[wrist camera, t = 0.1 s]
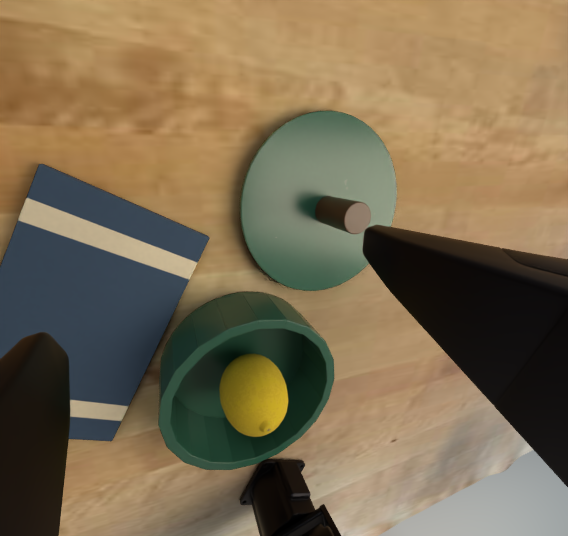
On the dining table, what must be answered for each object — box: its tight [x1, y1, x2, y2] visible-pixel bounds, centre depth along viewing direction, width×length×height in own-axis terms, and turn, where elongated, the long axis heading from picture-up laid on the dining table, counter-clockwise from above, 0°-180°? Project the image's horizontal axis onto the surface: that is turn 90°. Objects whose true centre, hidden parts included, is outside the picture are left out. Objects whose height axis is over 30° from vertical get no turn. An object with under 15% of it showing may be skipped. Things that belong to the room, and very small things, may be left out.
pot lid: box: [240, 111, 397, 291], centre depth 23 cm, size 15×15×6 cm
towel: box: [0, 164, 209, 441], centre depth 21 cm, size 20×11×1 cm, turn 152°
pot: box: [158, 292, 334, 470], centre depth 25 cm, size 15×15×5 cm
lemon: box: [219, 354, 288, 437], centre depth 24 cm, size 6×6×8 cm
